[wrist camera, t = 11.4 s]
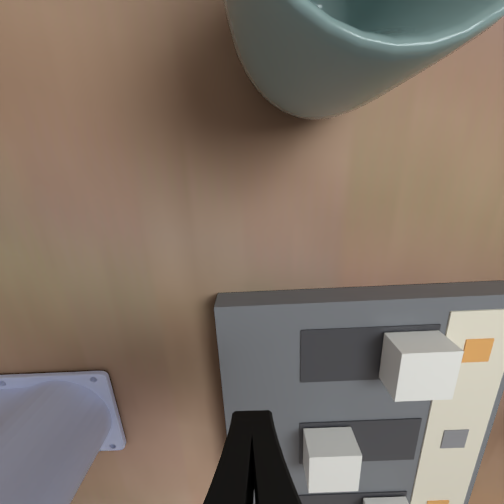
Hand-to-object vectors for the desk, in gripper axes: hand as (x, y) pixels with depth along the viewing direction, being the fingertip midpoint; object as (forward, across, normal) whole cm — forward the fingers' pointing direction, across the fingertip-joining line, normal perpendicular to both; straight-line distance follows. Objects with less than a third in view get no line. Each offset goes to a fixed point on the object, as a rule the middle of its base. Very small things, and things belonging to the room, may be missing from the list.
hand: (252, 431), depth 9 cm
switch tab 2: (+7, -10, +3) cm, 13 cm away
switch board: (+9, -8, +11) cm, 16 cm away
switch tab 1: (+7, -5, +11) cm, 14 cm away
